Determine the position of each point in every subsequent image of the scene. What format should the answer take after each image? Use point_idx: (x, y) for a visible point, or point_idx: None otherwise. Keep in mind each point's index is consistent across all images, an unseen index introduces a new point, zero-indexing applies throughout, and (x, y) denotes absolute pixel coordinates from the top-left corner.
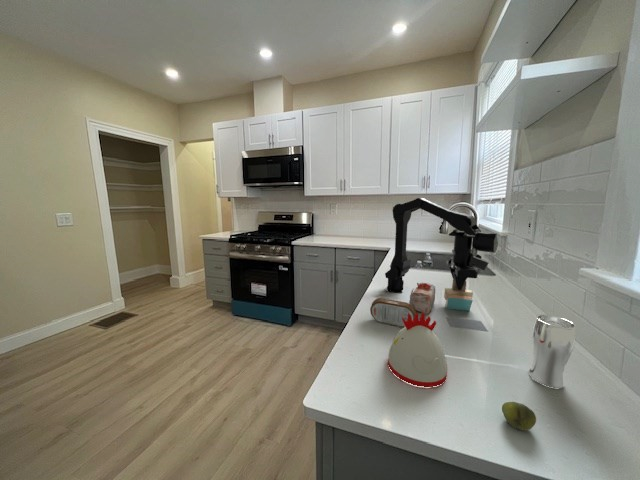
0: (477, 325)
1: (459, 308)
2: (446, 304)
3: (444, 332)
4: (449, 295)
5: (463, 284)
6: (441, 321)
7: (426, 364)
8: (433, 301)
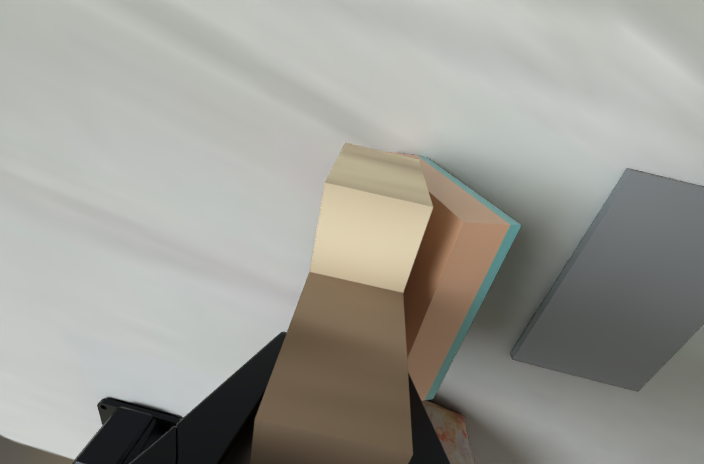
0: (693, 239)
1: None
2: None
3: (672, 425)
4: None
5: (445, 458)
6: (550, 389)
7: None
8: None
